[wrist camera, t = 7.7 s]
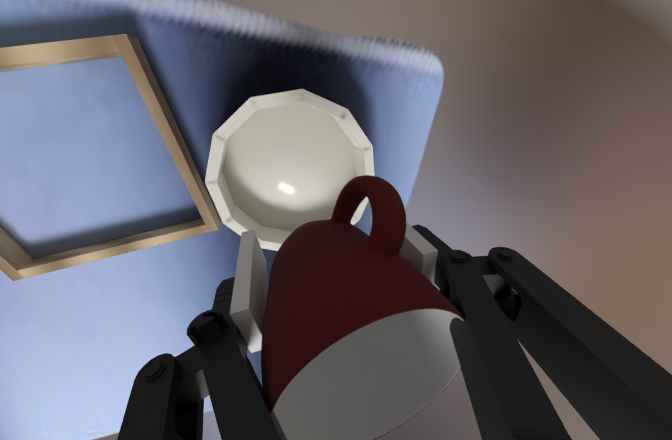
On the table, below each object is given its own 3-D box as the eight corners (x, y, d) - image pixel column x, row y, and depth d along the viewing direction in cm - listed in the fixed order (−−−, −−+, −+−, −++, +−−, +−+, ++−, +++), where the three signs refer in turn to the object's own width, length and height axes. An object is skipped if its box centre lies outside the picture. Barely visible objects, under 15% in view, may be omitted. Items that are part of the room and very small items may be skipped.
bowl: (245, 247, 31) (243, 268, 28) (186, 107, 23) (172, 110, 19) (365, 215, 34) (377, 230, 30) (353, 80, 25) (368, 77, 22)
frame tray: (30, 268, 25) (13, 280, 24) (-175, 75, 16) (-225, 73, 15) (220, 221, 29) (218, 229, 27) (137, 38, 20) (126, 33, 18)
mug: (258, 144, 13) (281, 233, 4) (385, 160, 16) (544, 231, 7) (253, 294, 17) (260, 484, 9) (353, 284, 20) (431, 419, 12)
